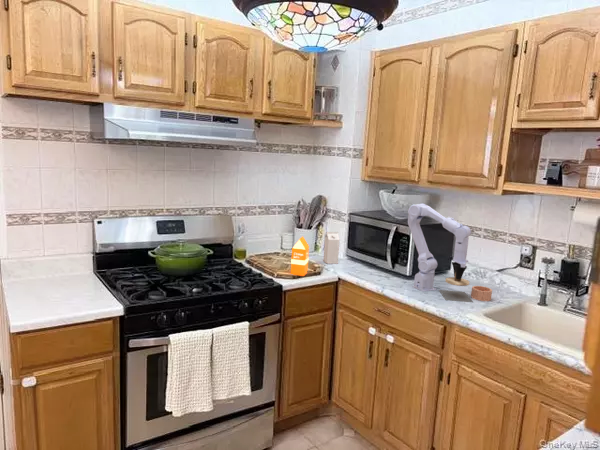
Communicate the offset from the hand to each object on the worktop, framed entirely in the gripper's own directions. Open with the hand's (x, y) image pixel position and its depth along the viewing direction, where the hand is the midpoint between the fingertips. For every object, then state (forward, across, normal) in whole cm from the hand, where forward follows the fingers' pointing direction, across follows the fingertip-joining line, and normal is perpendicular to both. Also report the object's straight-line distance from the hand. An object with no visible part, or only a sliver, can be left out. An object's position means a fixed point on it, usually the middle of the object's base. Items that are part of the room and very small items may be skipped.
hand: (457, 278), depth 218 cm
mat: (+9, 0, 0) cm, 9 cm away
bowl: (+9, 0, -12) cm, 15 cm away
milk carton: (+10, +49, +62) cm, 80 cm away
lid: (+2, 0, 0) cm, 2 cm away
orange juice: (+10, +20, +79) cm, 82 cm away
